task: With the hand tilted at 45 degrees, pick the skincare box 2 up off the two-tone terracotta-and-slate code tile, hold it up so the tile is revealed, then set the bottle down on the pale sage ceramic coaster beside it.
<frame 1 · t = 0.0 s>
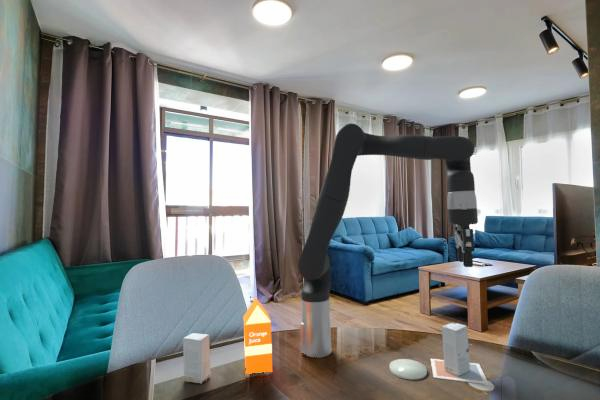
hand: (465, 264, 88), 29 cm above the table, tool pointing down, fingers open, 8 cm apart
code tile: (457, 370, 86), on the table
orange juice: (258, 369, 92), on the table
skincare box 2: (457, 370, 86), resting on code tile
coaster: (407, 370, 88), on the table
skincare box: (197, 380, 87), on the table
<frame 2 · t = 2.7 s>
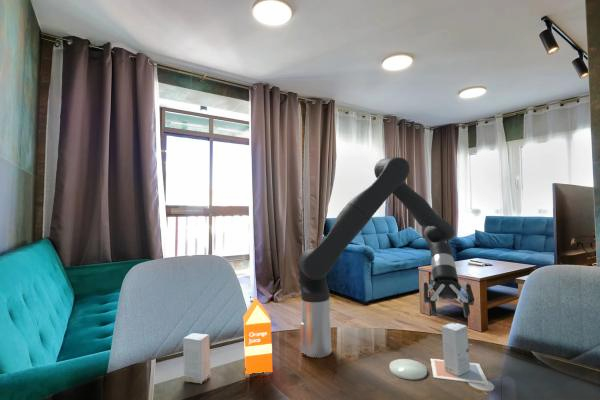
hand: (450, 315, 94), 13 cm above the table, tool tilted 45°, fingers open, 8 cm apart
nothing on the table moved.
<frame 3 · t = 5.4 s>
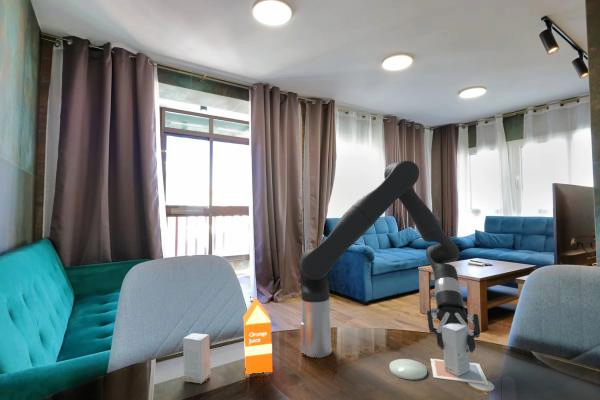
hand: (456, 349, 85), 6 cm above the table, tool tilted 45°, fingers closed on skincare box 2, 6 cm apart
skincare box 2: (457, 370, 86), resting on code tile, touching gripper
everything else where it was.
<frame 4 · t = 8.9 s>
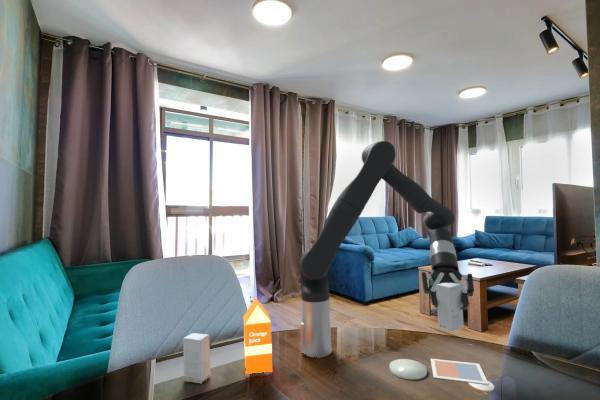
hand: (450, 306, 86), 18 cm above the table, tool tilted 45°, fingers closed on skincare box 2, 6 cm apart
skincare box 2: (450, 328, 87), point 12 cm above the table, touching gripper
everything else where it was.
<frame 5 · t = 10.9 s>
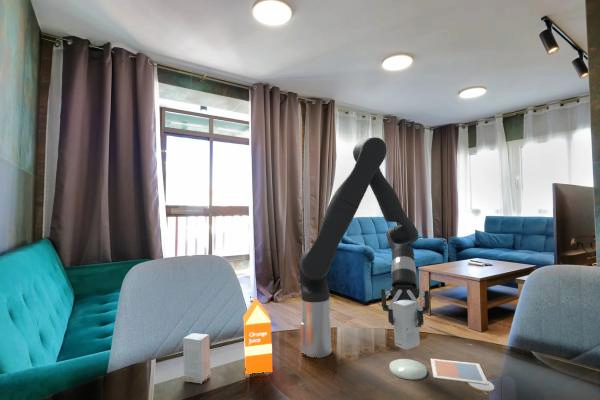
hand: (406, 324, 87), 13 cm above the table, tool tilted 45°, fingers closed on skincare box 2, 6 cm apart
skincare box 2: (407, 345, 88), point 7 cm above the table, touching gripper
everything else where it was.
when the fingers open (8 cm above the table, at t = 12.7 s): skincare box 2 drops 1 cm, resting on coaster.
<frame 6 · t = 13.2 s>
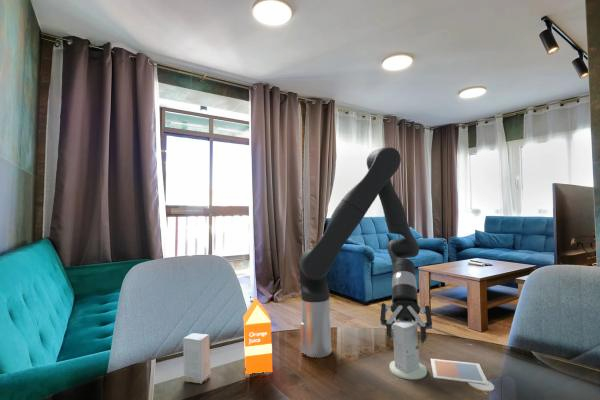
hand: (406, 340, 87), 9 cm above the table, tool tilted 45°, fingers open, 8 cm apart
skincare box 2: (407, 367, 88), point 1 cm above the table, touching coaster
everything else where it was.
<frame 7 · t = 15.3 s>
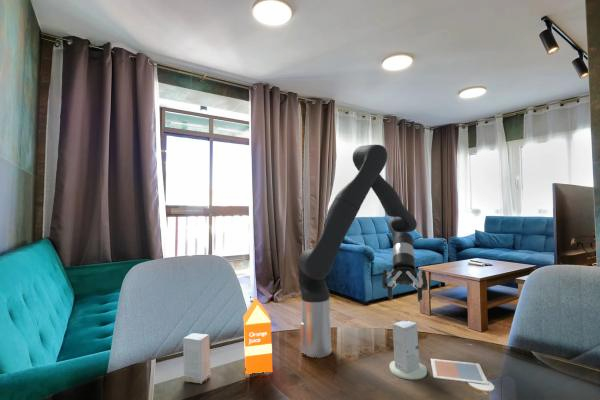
hand: (405, 299, 99), 17 cm above the table, tool tilted 45°, fingers open, 8 cm apart
nothing on the table moved.
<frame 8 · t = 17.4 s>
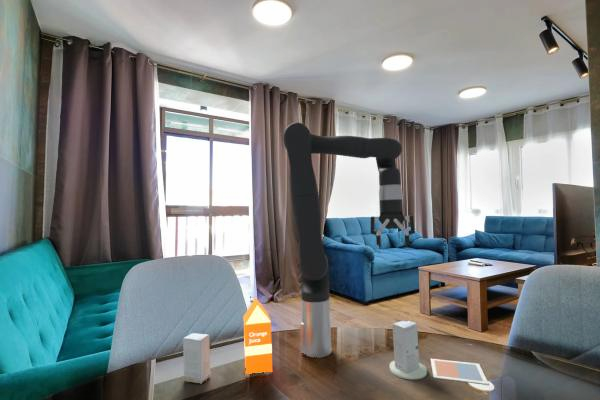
hand: (393, 246, 104), 33 cm above the table, tool pointing down, fingers open, 8 cm apart
nothing on the table moved.
at the end: skincare box 2 0.3 cm from the coaster (horizontally); skincare box 2 tilted 0°; the gripper is holding nothing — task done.
